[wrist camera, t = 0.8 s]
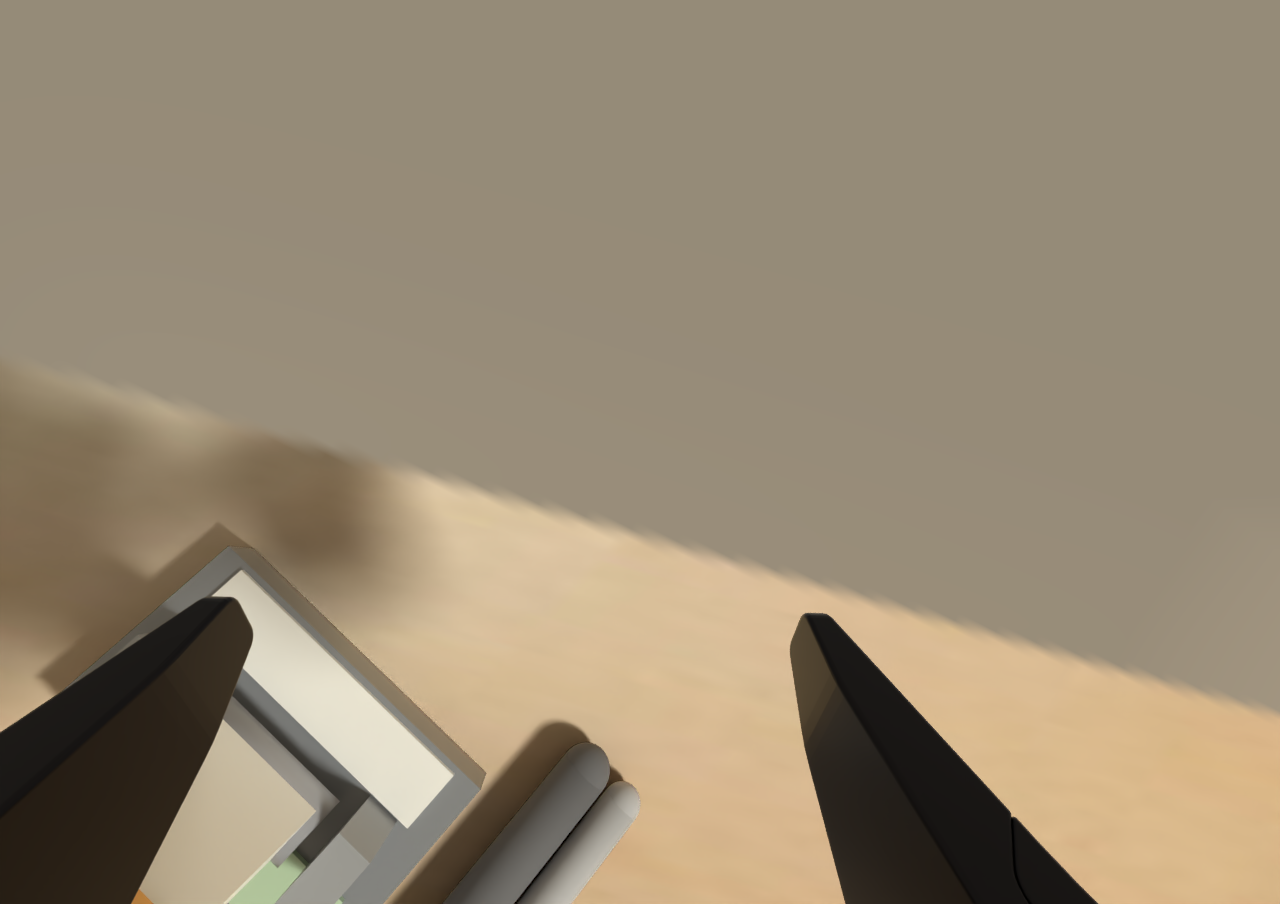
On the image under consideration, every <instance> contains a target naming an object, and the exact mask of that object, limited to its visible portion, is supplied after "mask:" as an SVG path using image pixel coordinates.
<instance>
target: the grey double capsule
mask: <svg viewBox="0 0 1280 904" xmlns="http://www.w3.org/2000/svg"><path fill="white" fill-rule="evenodd" d="M609 775H610V765H609V761H608V758H607V756H606V754H605V752H604V751H603V750H602V749H601V748H600V747H599V746H597V745H595V744H593V743H588V742H584V743H579V744H577V745H575V746H573V747H572V748H570V749H569V750H568V751H567V752H566V754H565V755H564V756H563V757H562V758H561V760H560V761H559V762H558V763H557V765H556V766H555V767H554V768H553V769H552V771H551V772H550V773H549V774H548V776H547V777H546V778H545V779H544V780H543V782H542V783H541V784H540V785H539V786H538V788H537V789H536V790H535V791H534V793H533V794H532V795H531V796H530V797H529V799H528V800H527V801H526V802H525V804H524V805H523V806H522V807H521V808H520V810H519V811H518V812H517V813H516V814H515V816H514V817H513V818H512V819H511V821H510V822H509V823H508V824H507V825H506V827H505V828H504V829H503V830H502V832H501V833H500V834H499V835H498V836H497V838H496V839H495V840H494V841H493V842H492V844H491V845H490V846H489V847H488V849H487V850H486V851H485V852H484V853H483V855H482V856H481V857H480V858H479V859H478V861H477V862H476V863H475V864H474V866H473V867H472V868H471V869H470V870H469V872H468V873H467V874H466V875H465V877H464V878H463V879H462V880H461V881H460V883H459V884H458V885H457V886H456V887H455V889H454V890H453V891H452V892H451V894H450V895H449V896H448V897H447V898H446V900H445V901H444V902H443V903H442V904H514V903H515V902H516V900H517V899H518V898H519V897H520V895H521V894H522V893H523V892H524V890H525V889H526V888H527V886H528V885H529V884H530V883H531V881H532V880H533V879H534V878H535V876H536V875H537V874H538V872H539V871H540V870H541V869H542V867H543V866H544V865H545V864H546V862H547V861H548V860H549V858H550V857H551V856H552V855H553V853H554V852H555V851H556V849H557V848H558V847H559V846H560V844H561V843H562V842H563V841H564V839H565V838H566V837H567V835H568V834H569V833H570V832H571V830H572V829H573V828H574V827H575V825H576V824H577V823H578V821H579V820H580V819H581V818H582V816H583V815H584V814H585V813H586V811H587V810H588V809H589V807H590V806H591V805H592V804H593V802H594V801H595V800H596V798H597V797H598V796H599V795H600V793H601V792H602V791H603V789H604V788H605V786H606V784H607V782H608V779H609ZM639 810H640V797H639V794H638V792H637V790H636V788H635V787H634V786H633V785H632V784H630V783H628V782H625V781H618V782H615V783H613V784H611V785H610V786H609V787H608V788H607V789H606V790H605V792H604V793H603V794H602V795H601V797H600V798H599V799H598V800H597V802H596V803H595V804H594V806H593V807H592V808H591V809H590V811H589V812H588V813H587V815H586V816H585V817H584V818H583V820H582V821H581V822H580V823H579V825H578V826H577V827H576V829H575V830H574V831H573V832H572V834H571V835H570V836H569V838H568V839H567V840H566V841H565V843H564V844H563V845H562V846H561V848H560V849H559V850H558V852H557V853H556V854H555V855H554V857H553V858H552V859H551V861H550V862H549V863H548V864H547V866H546V867H545V868H544V869H543V871H542V872H541V873H540V875H539V876H538V877H537V878H536V880H535V881H534V882H533V883H532V885H531V886H530V887H529V889H528V890H527V891H526V892H525V894H524V895H523V896H522V898H521V899H520V900H519V901H518V903H517V904H572V902H573V901H574V900H575V898H576V897H577V896H578V894H579V893H580V892H581V890H582V889H583V888H584V886H585V885H586V884H587V882H588V881H589V880H590V879H591V877H592V876H593V875H594V873H595V872H596V871H597V869H598V868H599V867H600V865H601V864H602V863H603V861H604V860H605V859H606V857H607V856H608V855H609V853H610V852H611V851H612V849H613V848H614V847H615V845H616V844H617V843H618V841H619V840H620V839H621V837H622V836H623V835H624V833H625V832H626V831H627V829H628V828H629V827H630V826H631V824H632V823H633V822H634V820H635V819H636V817H637V815H638V813H639Z"/></svg>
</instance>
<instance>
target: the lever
mask: <svg viewBox="0 0 1280 904" xmlns="http://www.w3.org/2000/svg"><path fill="white" fill-rule="evenodd" d="M339 802H340V801H339V800H338V799H337V798H336V797H335V796H334V795H333V794H332V793H331V792H330V791H329V790H328V789H327V788H326V787H325V786H324V785H323V784H322V783H321V782H320V781H319V780H318V779H317V778H316V777H315V776H314V775H313V774H312V773H310V772H309V771H308V770H307V769H306V768H305V767H304V766H303V765H302V764H301V763H300V762H299V761H298V760H297V759H296V758H295V757H294V756H293V755H292V754H291V753H290V752H289V751H288V750H287V749H286V748H285V747H284V746H283V745H282V744H281V743H280V742H279V741H278V740H277V739H276V738H275V737H274V736H273V735H272V734H271V733H270V732H269V731H268V730H267V729H266V728H265V727H264V726H263V725H262V724H261V723H260V722H258V721H257V720H256V719H255V718H254V717H253V716H252V715H251V714H250V713H249V712H248V711H247V710H246V709H245V708H244V707H243V706H242V705H241V704H240V703H239V702H238V701H237V700H236V699H235V698H234V697H233V696H232V697H231V700H230V702H229V705H228V707H227V710H226V713H225V715H224V718H223V720H222V723H221V725H220V728H219V730H218V733H217V735H216V737H215V740H214V742H213V744H212V746H211V748H210V750H209V752H208V754H207V756H206V758H205V760H204V762H203V764H202V766H201V768H200V770H199V772H198V774H197V776H196V778H195V780H194V782H193V784H192V786H191V788H190V790H189V792H188V794H187V796H186V798H185V800H184V802H183V804H182V805H181V807H180V809H179V811H178V813H177V815H176V817H175V819H174V821H173V823H172V825H171V827H170V829H169V831H168V833H167V835H166V837H165V839H164V841H163V843H162V845H161V847H160V849H159V851H158V852H157V854H156V856H155V858H154V860H153V862H152V864H151V866H150V868H149V870H148V872H147V874H146V876H145V878H144V880H143V882H142V884H141V886H140V888H139V890H138V892H137V894H136V896H135V898H134V899H133V901H132V903H131V904H227V903H228V902H229V901H230V900H231V899H232V898H233V897H234V896H235V895H236V894H237V893H238V892H239V891H240V890H241V889H242V888H243V887H244V886H245V885H246V884H247V883H248V882H249V881H250V880H251V879H252V878H253V877H254V876H255V875H256V874H257V873H258V872H259V871H260V870H261V869H262V868H263V867H264V866H265V865H266V864H267V863H268V862H269V861H271V862H272V863H273V864H274V865H275V866H276V867H277V868H278V867H279V866H280V865H281V864H282V863H283V862H284V861H285V860H286V859H287V858H288V857H289V856H290V855H291V854H292V852H293V851H294V850H295V849H296V848H297V847H298V846H299V845H300V844H301V843H302V842H303V841H304V840H305V839H306V837H307V836H308V835H309V834H310V833H311V832H312V831H313V830H314V829H315V828H316V827H317V826H318V825H319V823H320V822H321V821H322V820H323V819H324V818H325V817H326V816H327V815H328V814H329V813H330V812H331V810H332V809H333V808H334V807H335V806H336V805H337V804H338V803H339Z"/></svg>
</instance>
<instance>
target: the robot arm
mask: <svg viewBox="0 0 1280 904" xmlns="http://www.w3.org/2000/svg"><path fill="white" fill-rule="evenodd" d="M252 642H253V629H252V626H251V624H250V622H249V620H248V618H247V616H246V614H245V612H244V610H243V609H242V607H241V605H240V603H239V601H238V600H237V599H235V598H234V597H222V596H209V597H204V598H202V599H200V600H198V601H196V602H195V603H193V604H192V605H190V606H189V607H187V608H186V609H184V610H183V611H181V612H180V613H178V614H177V615H175V616H174V617H172V618H171V619H169V620H168V621H166V622H165V623H163V624H162V625H160V626H159V627H157V628H156V629H154V630H153V631H151V632H150V633H148V634H147V635H145V636H144V637H142V638H141V639H139V640H138V641H136V642H135V643H133V644H132V645H130V646H129V647H127V648H126V649H124V650H123V651H121V652H120V653H118V654H117V655H115V656H114V657H112V658H111V659H109V660H108V661H106V662H105V663H103V664H102V665H100V666H99V667H98V668H96V669H95V670H93V671H92V672H90V673H89V674H87V675H86V676H84V677H83V678H81V679H80V680H78V681H77V682H75V683H74V684H72V685H71V686H69V687H68V688H66V689H65V690H63V691H62V692H60V693H59V694H57V695H56V696H54V697H53V698H51V699H50V700H48V701H47V702H45V703H44V704H42V705H41V706H39V707H38V708H36V709H35V710H33V711H32V712H30V713H29V714H27V715H26V716H24V717H23V718H21V719H20V720H18V721H17V722H15V723H14V724H12V725H11V726H9V727H8V728H6V729H5V730H3V731H2V732H0V904H131V903H132V901H133V899H134V898H135V896H136V894H137V892H138V890H139V888H140V886H141V884H142V882H143V880H144V878H145V876H146V874H147V872H148V870H149V868H150V866H151V864H152V862H153V860H154V858H155V856H156V854H157V852H158V851H159V849H160V847H161V845H162V843H163V841H164V839H165V837H166V835H167V833H168V831H169V829H170V827H171V825H172V823H173V821H174V819H175V817H176V815H177V813H178V811H179V809H180V807H181V805H182V804H183V802H184V800H185V798H186V796H187V794H188V792H189V790H190V788H191V786H192V784H193V782H194V780H195V778H196V776H197V774H198V772H199V770H200V768H201V766H202V764H203V762H204V760H205V758H206V756H207V754H208V752H209V750H210V748H211V746H212V744H213V742H214V740H215V737H216V735H217V733H218V730H219V728H220V725H221V723H222V720H223V718H224V715H225V713H226V710H227V707H228V705H229V702H230V700H231V697H232V695H233V692H234V689H235V687H236V684H237V682H238V679H239V677H240V674H241V671H242V669H243V666H244V664H245V661H246V659H247V656H248V653H249V651H250V648H251V646H252ZM790 658H791V664H792V671H793V677H794V684H795V690H796V697H797V703H798V710H799V716H800V723H801V729H802V735H803V741H804V747H805V751H806V755H807V759H808V764H809V767H810V771H811V775H812V779H813V783H814V786H815V790H816V794H817V798H818V802H819V805H820V809H821V813H822V817H823V820H824V824H825V828H826V832H827V836H828V839H829V843H830V847H831V851H832V855H833V858H834V862H835V866H836V870H837V874H838V877H839V881H840V885H841V889H842V893H843V896H844V900H845V904H1098V903H1097V902H1096V901H1095V900H1094V899H1093V898H1092V897H1091V896H1090V895H1089V894H1088V893H1087V892H1086V891H1085V890H1084V889H1083V888H1082V887H1081V886H1080V885H1079V884H1078V883H1077V882H1076V881H1075V880H1074V879H1073V878H1072V877H1071V876H1070V875H1069V874H1068V873H1067V872H1066V870H1065V869H1064V868H1063V867H1062V866H1061V865H1060V864H1059V863H1058V862H1057V861H1056V860H1055V859H1054V858H1053V857H1052V856H1051V855H1050V854H1049V853H1048V852H1047V851H1046V849H1045V848H1044V847H1043V846H1042V845H1041V844H1040V843H1039V842H1038V841H1037V840H1036V839H1035V838H1034V837H1033V836H1032V834H1031V833H1030V832H1029V831H1028V830H1027V829H1026V828H1025V827H1024V826H1023V825H1022V824H1021V822H1020V821H1019V820H1018V819H1017V818H1015V817H1011V813H1010V811H1009V810H1008V809H1007V808H1006V806H1005V805H1004V804H1003V803H1002V802H1001V801H1000V800H999V799H998V798H997V797H996V796H995V794H994V793H993V792H992V791H991V790H990V789H989V788H988V787H987V786H986V785H985V784H984V783H983V781H982V780H981V779H980V778H979V777H978V776H977V775H976V774H975V773H974V772H973V771H972V769H971V768H970V767H969V766H968V765H967V764H966V763H965V762H964V761H963V760H962V759H961V758H960V756H959V755H958V754H957V753H956V752H955V751H954V750H953V749H952V748H951V747H950V746H949V744H948V743H947V742H946V741H945V740H944V739H943V738H942V737H941V736H940V735H939V734H938V733H937V731H936V730H935V729H934V728H933V727H932V726H931V725H930V724H929V723H928V722H927V721H926V719H925V718H924V717H923V716H922V715H921V714H920V713H919V712H918V711H917V710H916V709H915V708H914V706H913V705H912V704H911V703H910V702H909V701H908V700H907V699H906V698H905V697H904V696H903V694H902V693H901V692H900V691H899V690H898V689H897V688H896V687H895V686H894V685H893V684H892V682H891V681H890V680H889V679H888V678H887V677H886V676H885V675H884V674H883V673H882V672H881V671H880V669H879V668H878V667H877V666H876V665H875V664H874V663H873V662H872V661H871V660H870V659H869V657H868V656H867V655H866V654H865V653H864V652H863V651H862V650H861V649H860V648H859V647H858V646H857V644H856V643H855V642H854V641H853V640H852V639H851V638H850V637H849V636H848V635H847V634H846V632H845V631H844V630H843V629H842V628H841V627H840V626H839V625H838V624H837V623H836V622H835V621H834V619H833V618H832V617H830V616H829V615H827V614H823V613H805V614H803V615H802V616H801V618H800V621H799V623H798V626H797V628H796V631H795V633H794V636H793V638H792V641H791V645H790Z"/></svg>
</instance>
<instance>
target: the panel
mask: <svg viewBox="0 0 1280 904" xmlns="http://www.w3.org/2000/svg"><path fill="white" fill-rule="evenodd" d="M209 596H222V597H234V598H235V599H237V600H238V601H239V603H240V605H241V607H242V609H243V610H244V612H245V614H246V616H247V618H248V620H249V622H250V624H251V626H252V629H253V642H252V646H251V648H250V651H249V653H248V656H247V659H246V661H245V664H244V666H243V669H242V671H241V674H240V677H239V679H238V682H237V684H236V687H235V689H234V692H233V695H232V696H233V697H234V698H235V699H236V700H237V701H238V702H239V703H240V704H241V705H242V706H243V707H244V708H245V709H246V710H247V711H248V712H249V713H250V714H251V715H252V716H253V717H254V718H255V719H256V720H257V721H258V722H260V723H261V724H262V725H263V726H264V727H265V728H266V729H267V730H268V731H269V732H270V733H271V734H272V735H273V736H274V737H275V738H276V739H277V740H278V741H279V742H280V743H281V744H282V745H283V746H284V747H285V748H286V749H287V750H288V751H289V752H290V753H291V754H292V755H293V756H294V757H295V758H296V759H297V760H298V761H299V762H300V763H301V764H302V765H303V766H304V767H305V768H306V769H307V770H308V771H309V772H310V773H312V774H313V775H314V776H315V777H316V778H317V779H318V780H319V781H320V782H321V783H322V784H323V785H324V786H325V787H326V788H327V789H328V790H329V791H330V792H331V793H332V794H333V795H334V796H335V797H336V798H337V799H338V800H339V801H340V802H339V803H338V804H337V805H336V806H335V807H334V808H333V809H332V810H331V812H330V813H329V814H328V815H327V816H326V817H325V818H324V819H323V820H322V821H321V822H320V823H319V825H318V826H317V827H316V828H315V829H314V830H313V831H312V832H311V833H310V834H309V835H308V836H307V837H306V839H305V840H304V841H303V842H302V843H301V844H300V845H299V846H298V847H297V848H296V849H295V850H294V851H293V852H292V854H291V855H290V856H289V857H288V858H287V859H286V860H285V861H284V862H283V863H282V864H281V865H280V866H279V867H278V868H277V867H276V866H275V865H274V864H273V863H272V862H271V861H269V862H268V863H267V864H266V865H265V866H264V867H263V868H262V869H261V870H260V871H259V872H258V873H257V874H256V875H255V876H254V877H253V878H252V879H251V880H250V881H249V882H248V883H247V884H246V885H245V886H244V887H243V888H242V889H241V890H240V891H239V892H238V893H237V894H236V895H235V896H234V897H233V898H232V899H231V900H230V901H229V902H228V903H227V904H383V903H384V902H385V901H386V900H387V899H388V897H389V896H390V895H391V894H392V893H393V892H394V890H395V889H396V888H397V887H398V886H399V885H400V883H401V882H402V881H403V880H404V879H405V878H406V876H407V875H408V874H409V873H410V872H411V870H412V869H413V868H414V867H415V866H416V865H417V863H418V862H419V861H420V860H421V859H422V858H423V856H424V855H425V854H426V853H427V852H428V851H429V849H430V848H431V847H432V846H433V845H434V843H435V842H436V841H437V840H438V839H439V838H440V836H441V835H442V834H443V833H444V832H445V831H446V829H447V828H448V827H449V826H450V825H451V824H452V822H453V821H454V820H455V819H456V818H457V817H458V815H459V814H460V813H461V812H462V811H463V809H464V808H465V807H466V806H467V805H468V804H469V802H470V801H471V800H472V799H473V798H474V797H475V795H476V794H477V793H478V792H479V791H480V790H481V787H482V784H483V781H484V778H485V775H486V772H485V771H484V770H483V769H482V768H481V767H480V766H478V765H477V764H476V763H475V762H474V761H473V760H472V759H471V758H470V757H469V756H468V755H467V754H466V753H465V752H464V751H463V750H462V749H461V748H460V747H459V746H458V745H457V744H456V743H455V742H454V741H453V740H452V739H451V738H449V737H448V736H447V735H446V734H445V733H444V732H443V731H442V730H441V729H440V728H439V727H438V726H437V725H436V724H435V723H434V722H433V721H432V720H431V719H430V718H429V717H428V716H427V715H426V714H425V713H424V712H423V711H421V710H420V709H419V708H418V707H417V706H416V705H415V704H414V703H413V702H412V701H411V700H410V699H409V698H408V697H407V696H406V695H405V694H404V693H403V692H402V691H401V690H400V689H399V688H398V687H397V686H396V685H395V684H393V683H392V682H391V681H390V680H389V679H388V678H387V677H386V676H385V675H384V674H383V673H382V672H381V671H380V670H379V669H378V668H377V667H376V666H375V665H374V664H373V663H372V662H371V661H370V660H369V659H368V658H367V657H365V656H364V655H363V654H362V653H361V652H360V651H359V650H358V649H357V648H356V647H355V646H354V645H353V644H352V643H351V642H350V641H349V640H348V639H347V638H346V637H345V636H344V635H343V634H342V633H341V632H340V631H339V630H337V629H336V628H335V627H334V626H333V625H332V624H331V623H330V622H329V621H328V620H327V619H326V618H325V617H324V616H323V615H322V614H321V613H320V612H319V611H318V610H317V609H316V608H315V607H314V606H313V605H312V604H311V603H309V602H308V601H307V600H306V599H305V598H304V597H303V596H302V595H301V594H300V593H299V592H298V591H297V590H296V589H295V588H294V587H293V586H292V585H291V584H290V583H289V582H288V581H287V580H286V579H285V578H284V577H283V576H281V575H280V574H279V573H278V572H277V571H276V570H275V569H274V568H273V567H272V566H271V565H270V564H269V563H268V562H267V561H266V560H265V559H264V558H263V557H262V556H261V555H260V554H259V553H258V552H257V551H256V550H255V549H253V548H246V547H236V546H228V547H227V548H226V549H224V550H223V551H222V552H221V553H220V554H219V555H218V556H216V557H215V558H214V559H213V560H212V561H211V562H210V563H208V564H207V565H206V566H205V567H204V568H203V569H201V570H200V571H199V572H198V573H197V574H196V575H195V576H193V577H192V578H191V579H190V580H189V581H188V582H187V583H185V584H184V585H183V586H182V587H181V588H180V589H179V590H177V591H176V592H175V593H174V594H173V595H172V596H171V597H169V598H168V599H167V600H166V601H165V602H164V603H163V604H161V605H160V606H159V607H158V608H157V609H156V610H154V611H153V612H152V613H151V614H150V615H149V616H148V617H146V618H145V619H144V620H143V621H142V622H141V623H140V624H138V625H137V626H136V627H135V628H134V629H133V630H132V631H130V632H129V633H128V634H127V635H126V636H125V637H124V638H122V639H121V640H120V641H119V642H118V643H117V644H116V645H114V646H113V647H112V648H111V649H110V650H109V651H107V652H106V653H105V654H104V655H103V656H102V657H101V658H99V659H98V660H97V661H96V662H95V663H94V664H93V665H91V666H90V667H89V668H88V669H87V670H86V671H85V672H83V673H82V674H81V675H80V676H79V677H78V678H77V679H75V680H74V681H73V682H72V683H71V684H70V685H69V686H71V685H72V684H74V683H75V682H77V681H78V680H80V679H81V678H83V677H84V676H86V675H87V674H89V673H90V672H92V671H93V670H95V669H96V668H98V667H99V666H100V665H102V664H103V663H105V662H106V661H108V660H109V659H111V658H112V657H114V656H115V655H117V654H118V653H120V652H121V651H123V650H124V649H126V648H127V647H129V646H130V645H132V644H133V643H135V642H136V641H138V640H139V639H141V638H142V637H144V636H145V635H147V634H148V633H150V632H151V631H153V630H154V629H156V628H157V627H159V626H160V625H162V624H163V623H165V622H166V621H168V620H169V619H171V618H172V617H174V616H175V615H177V614H178V613H180V612H181V611H183V610H184V609H186V608H187V607H189V606H190V605H192V604H193V603H195V602H196V601H198V600H200V599H202V598H204V597H209ZM69 686H67V687H66V688H68V687H69ZM66 688H65V689H66ZM65 689H64V690H65Z"/></svg>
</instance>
